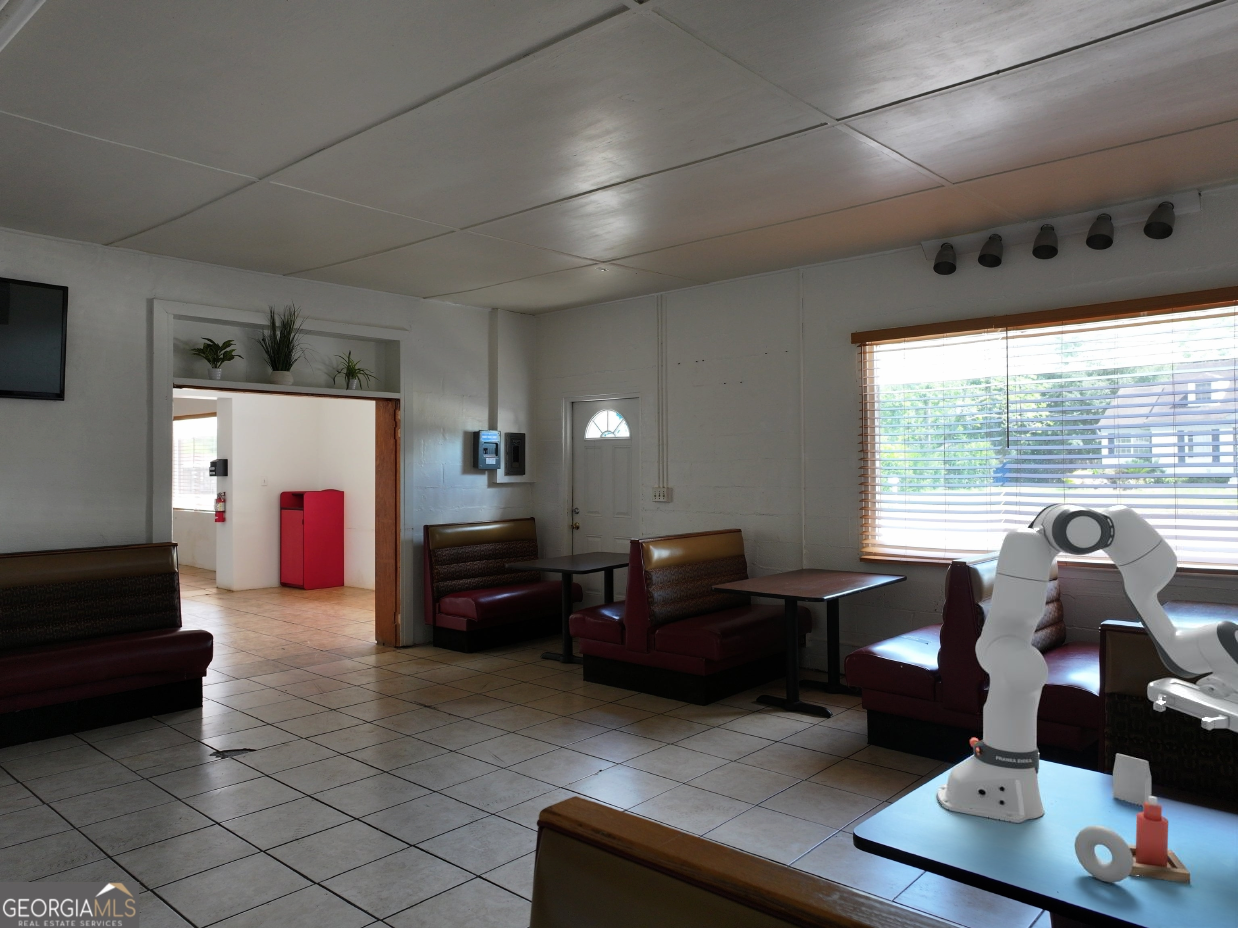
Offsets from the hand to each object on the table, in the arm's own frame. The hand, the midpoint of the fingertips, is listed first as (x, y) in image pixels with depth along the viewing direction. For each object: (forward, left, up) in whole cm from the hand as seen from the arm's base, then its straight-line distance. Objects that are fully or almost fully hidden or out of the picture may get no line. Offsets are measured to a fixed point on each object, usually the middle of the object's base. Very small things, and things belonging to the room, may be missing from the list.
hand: (1180, 716), depth 170 cm
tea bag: (-2, +25, -27) cm, 37 cm away
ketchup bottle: (-8, -11, -26) cm, 30 cm away
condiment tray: (-8, -11, -27) cm, 30 cm away
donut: (-18, -19, -27) cm, 38 cm away
